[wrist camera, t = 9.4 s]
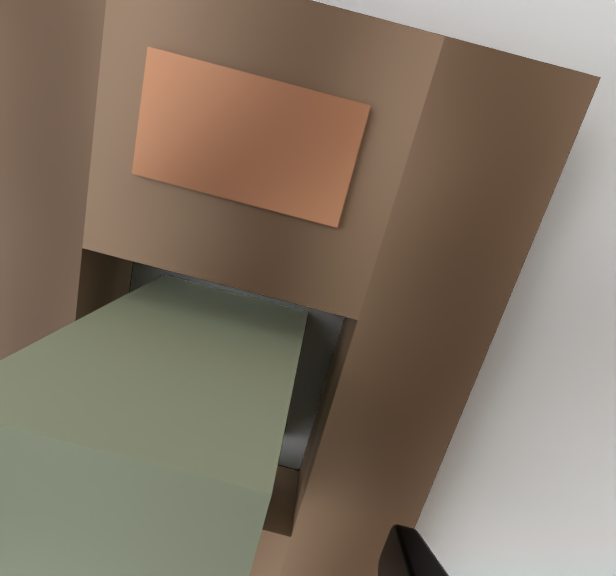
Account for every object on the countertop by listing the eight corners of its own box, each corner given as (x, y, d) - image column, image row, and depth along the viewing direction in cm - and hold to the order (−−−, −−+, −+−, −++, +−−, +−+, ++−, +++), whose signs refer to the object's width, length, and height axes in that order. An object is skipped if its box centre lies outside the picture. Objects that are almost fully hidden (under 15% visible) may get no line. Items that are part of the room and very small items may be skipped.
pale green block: (144, 402, 13) (-75, 653, 6) (163, 274, 11) (-82, 404, 5) (275, 435, 13) (207, 726, 6) (308, 311, 11) (271, 494, 5)
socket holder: (15, 533, 14) (-56, 611, 12) (49, -25, 10) (-57, -103, 7) (339, 618, 14) (341, 713, 12) (533, 104, 10) (608, 74, 7)
